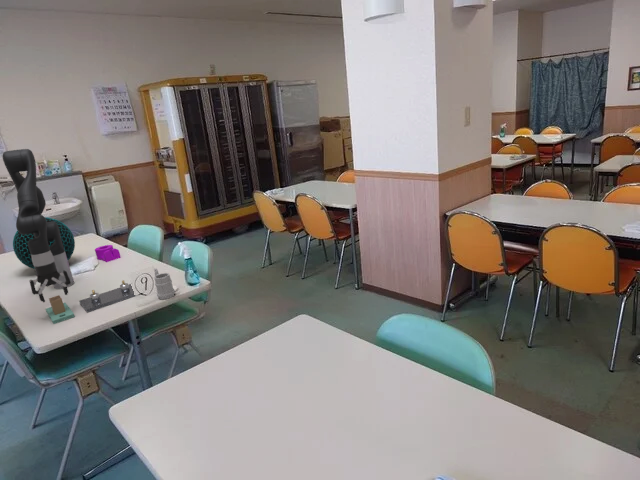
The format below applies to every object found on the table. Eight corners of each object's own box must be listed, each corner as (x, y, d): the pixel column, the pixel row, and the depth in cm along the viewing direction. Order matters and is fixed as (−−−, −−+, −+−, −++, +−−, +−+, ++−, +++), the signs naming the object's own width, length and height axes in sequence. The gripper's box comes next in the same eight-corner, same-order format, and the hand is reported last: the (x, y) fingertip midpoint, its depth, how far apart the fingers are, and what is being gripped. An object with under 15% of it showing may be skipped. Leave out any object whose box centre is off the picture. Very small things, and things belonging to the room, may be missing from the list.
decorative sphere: (83, 255, 278) (70, 208, 269) (77, 270, 251) (61, 218, 242) (29, 266, 269) (13, 218, 260) (16, 282, 242) (-2, 229, 233)
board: (46, 311, 198) (41, 296, 196) (66, 305, 203) (61, 290, 201) (53, 324, 185) (48, 307, 183) (74, 316, 189) (69, 300, 187)
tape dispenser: (94, 258, 270) (92, 248, 268) (111, 253, 277) (108, 244, 275) (105, 263, 259) (102, 252, 257) (122, 257, 266) (119, 247, 264)
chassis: (80, 303, 203) (76, 290, 201) (133, 286, 217) (130, 273, 215) (87, 312, 192) (83, 298, 190) (143, 293, 206) (139, 280, 204)
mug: (162, 301, 195) (156, 275, 191) (151, 295, 203) (145, 270, 200) (178, 295, 200) (172, 270, 196) (167, 289, 208) (161, 265, 205)
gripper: (61, 255, 194) (71, 290, 198) (23, 266, 185) (34, 301, 190) (64, 259, 188) (75, 294, 193) (25, 269, 180) (37, 306, 184)
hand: (55, 298), depth 191 cm, fingers open, 8 cm apart
